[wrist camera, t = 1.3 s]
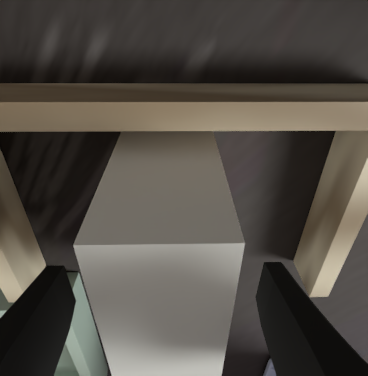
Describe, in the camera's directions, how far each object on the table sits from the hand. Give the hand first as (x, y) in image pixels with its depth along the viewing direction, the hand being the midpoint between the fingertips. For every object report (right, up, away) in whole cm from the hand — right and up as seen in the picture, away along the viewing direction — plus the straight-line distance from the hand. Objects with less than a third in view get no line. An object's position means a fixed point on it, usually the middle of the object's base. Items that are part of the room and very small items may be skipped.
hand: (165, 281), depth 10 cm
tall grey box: (0, +3, +4) cm, 5 cm away
